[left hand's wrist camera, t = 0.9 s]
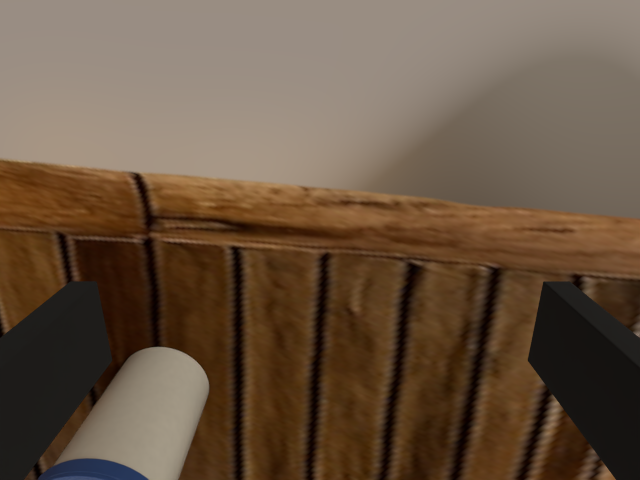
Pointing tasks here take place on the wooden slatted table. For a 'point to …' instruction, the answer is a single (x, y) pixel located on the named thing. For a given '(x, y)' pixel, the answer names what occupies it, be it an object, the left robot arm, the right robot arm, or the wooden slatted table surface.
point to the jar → (145, 415)
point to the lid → (91, 471)
